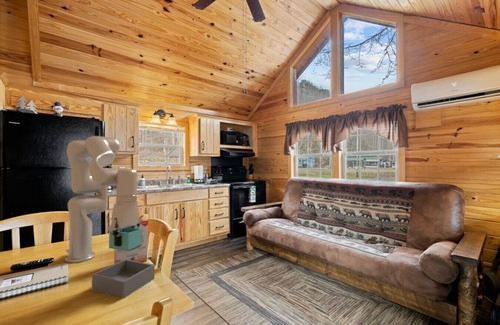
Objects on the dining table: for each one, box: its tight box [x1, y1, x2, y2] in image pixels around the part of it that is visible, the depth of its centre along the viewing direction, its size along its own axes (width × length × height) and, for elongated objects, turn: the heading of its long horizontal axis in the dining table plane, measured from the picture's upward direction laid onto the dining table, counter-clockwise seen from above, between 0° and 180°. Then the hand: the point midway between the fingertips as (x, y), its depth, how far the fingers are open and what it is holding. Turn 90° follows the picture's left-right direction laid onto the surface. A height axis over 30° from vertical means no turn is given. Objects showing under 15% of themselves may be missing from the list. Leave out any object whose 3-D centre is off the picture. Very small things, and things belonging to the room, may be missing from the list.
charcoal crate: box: [91, 259, 156, 299], centre depth 99 cm, size 16×16×6 cm
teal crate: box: [108, 227, 142, 251], centre depth 99 cm, size 10×7×7 cm
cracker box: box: [113, 218, 149, 265], centre depth 119 cm, size 14×6×21 cm, turn 129°
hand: (125, 242), depth 99 cm, fingers closed on teal crate, 7 cm apart
